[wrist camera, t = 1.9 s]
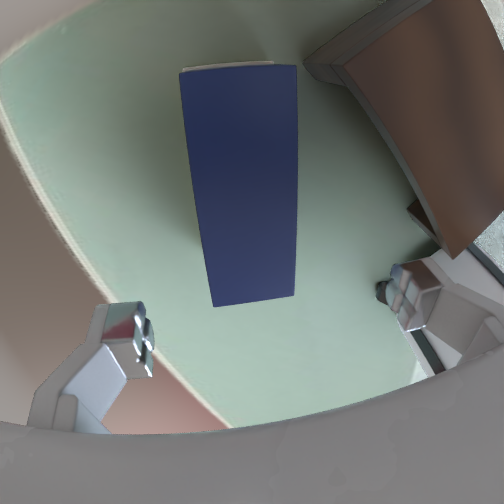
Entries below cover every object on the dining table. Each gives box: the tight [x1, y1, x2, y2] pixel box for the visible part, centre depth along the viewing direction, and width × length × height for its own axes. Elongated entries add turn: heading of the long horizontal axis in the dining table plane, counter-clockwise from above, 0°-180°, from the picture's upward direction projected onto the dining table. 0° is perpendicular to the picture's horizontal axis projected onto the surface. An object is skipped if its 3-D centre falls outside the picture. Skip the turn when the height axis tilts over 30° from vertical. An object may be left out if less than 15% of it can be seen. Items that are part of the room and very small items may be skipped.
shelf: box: [302, 0, 504, 260], centre depth 16 cm, size 11×16×6 cm
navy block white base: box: [179, 61, 298, 307], centre depth 17 cm, size 13×5×6 cm, turn 3°
